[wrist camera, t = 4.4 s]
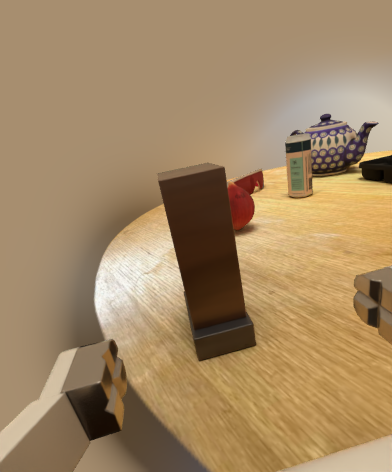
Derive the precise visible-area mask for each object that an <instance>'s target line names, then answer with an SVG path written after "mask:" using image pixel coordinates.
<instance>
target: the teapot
mask: <svg viewBox="0 0 392 472" xmlns="http://www.w3.org/2000/svg"><path fill="white" fill-rule="evenodd" d="M330 118H331V115H330V114H324V115H322V116H321V117H320V119H321V122H320V123H318V124H316V125H314V126H311V127H310V128H309V129H306V132H305V133H308V134H309V136H310V137H311V161H312V176H327V175H334V174H338V173H342V172H345V171H346V170H347V167H349V166H350V165H353V164H356V163H358V162H359V161H360V160H361V158H362V157H363V155H364V152H365V149H366V145H367V140H368V136H369V133H370V131H371V128H373V127H374V126H376V125H377V124H378V122H365V123H364V124H363V125H362V127H361V129H360V131H359V132H358V134H357V133H356V131H355V130H354V129H352V128H351V127H349V126H348V125H347V122H342V121H335V120H330ZM305 133H302V132H301V131H300V130H296V131H293V132H292V134H291V135H290V136H294V135H296V134H297V135H299V134H305Z"/></svg>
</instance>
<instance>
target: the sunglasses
mask: <svg viewBox="0 0 392 472" xmlns="http://www.w3.org/2000/svg"><path fill="white" fill-rule="evenodd" d="M228 182H230V181H228ZM228 182H227V188H228ZM231 182H233V183H234V184H236V185H237V186H238V187H240V188H242V189H244V190H245V191H247V192H248V193H249V194H251V193H253V191H254V189H255V186H257V187H258V186H259V189H262V188H263V187H264V181H263V173H262V169H259V170H256V171H253V172H250V173H248V174H245V175H243V176H240V177H238V178H235V179H233V181H232V180H231Z"/></svg>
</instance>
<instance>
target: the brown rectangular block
mask: <svg viewBox="0 0 392 472" xmlns="http://www.w3.org/2000/svg"><path fill="white" fill-rule="evenodd" d="M158 182H159V186H160V190H161V194H162V198H163V202H164V207H165V211H166V215H167V219H168V223H169V227H170V232H171V236H172V240H173V244H174V248H175V252H176V257H177V261H178V265H179V269H180V273H181V277H182V281H183V286H184V290H185V291H184V296H185V301H186V306H187V311H188V316H189V321H190V325H191V330H192V335H193V340H194V344H195V348H196V352H197V356H198V360H199V361H200V360H204V359H207V358H211V357H215V356H218V355H222V354H225V353H229V352H233V351H236V350H240V349H243V348H247V347H251V346H254V345H256V340H255V333H254V326H253V323H252V321H251V319H250V317H249V316H248V314H247V312H246V310H245V303H244V296H243V289H242V283H241V276H240V269H239V262H238V256H237V249H236V242H235V235H234V228H233V222H232V215H231V208H230V201H229V195H228V188H227V181H226V174H225V168H224V167H223V166H219V165H215V164H210V163H204V164H200V165H195V166H190V167H186V168H181V169H176V170H172V171H167V172H162V173H158Z"/></svg>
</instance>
